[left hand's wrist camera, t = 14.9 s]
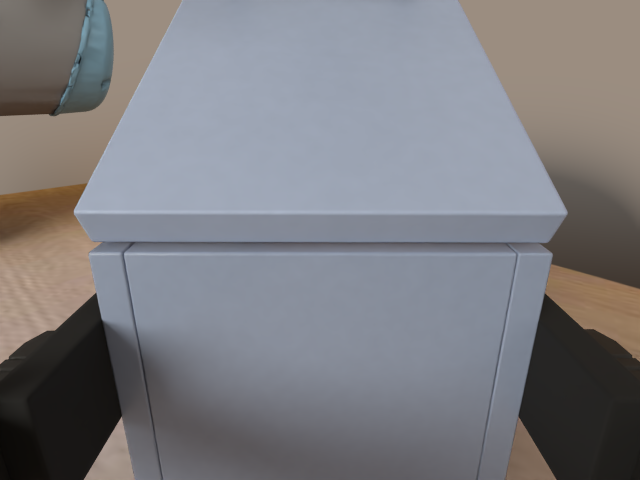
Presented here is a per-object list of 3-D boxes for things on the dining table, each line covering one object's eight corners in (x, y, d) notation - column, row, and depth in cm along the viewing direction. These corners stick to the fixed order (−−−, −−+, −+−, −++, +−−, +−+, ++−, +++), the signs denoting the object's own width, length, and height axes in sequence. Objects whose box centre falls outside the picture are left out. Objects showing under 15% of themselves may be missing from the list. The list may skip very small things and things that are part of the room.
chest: (237, 324, 25) (224, 151, 21) (402, 324, 25) (415, 152, 21) (153, 572, 12) (86, 252, 9) (485, 572, 12) (554, 253, 9)
